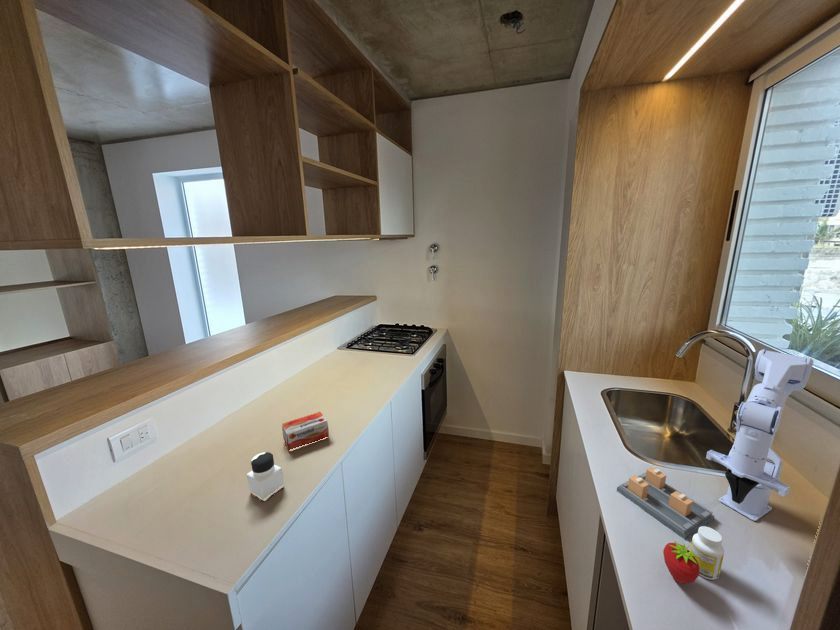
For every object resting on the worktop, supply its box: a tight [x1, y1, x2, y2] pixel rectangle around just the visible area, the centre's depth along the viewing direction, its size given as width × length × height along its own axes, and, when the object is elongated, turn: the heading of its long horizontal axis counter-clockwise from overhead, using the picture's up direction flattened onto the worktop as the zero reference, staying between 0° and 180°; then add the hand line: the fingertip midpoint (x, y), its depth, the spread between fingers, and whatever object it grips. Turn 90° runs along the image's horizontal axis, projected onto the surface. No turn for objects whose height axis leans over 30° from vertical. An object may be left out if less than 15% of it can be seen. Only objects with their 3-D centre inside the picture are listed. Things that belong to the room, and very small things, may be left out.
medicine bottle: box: [246, 451, 285, 499], centre depth 101 cm, size 7×7×12 cm
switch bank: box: [616, 472, 715, 540], centre depth 93 cm, size 13×18×2 cm
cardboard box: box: [645, 466, 667, 489], centre depth 98 cm, size 3×4×5 cm, turn 25°
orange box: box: [628, 474, 649, 499], centre depth 95 cm, size 3×4×5 cm, turn 25°
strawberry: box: [662, 540, 700, 584], centre depth 72 cm, size 6×8×10 cm
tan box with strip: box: [668, 490, 693, 517], centre depth 89 cm, size 3×4×5 cm, turn 25°
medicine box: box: [281, 411, 330, 451], centre depth 126 cm, size 15×8×8 cm, turn 124°
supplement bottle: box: [689, 525, 725, 581], centre depth 74 cm, size 5×5×10 cm
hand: (737, 500), depth 81 cm, fingers closed
